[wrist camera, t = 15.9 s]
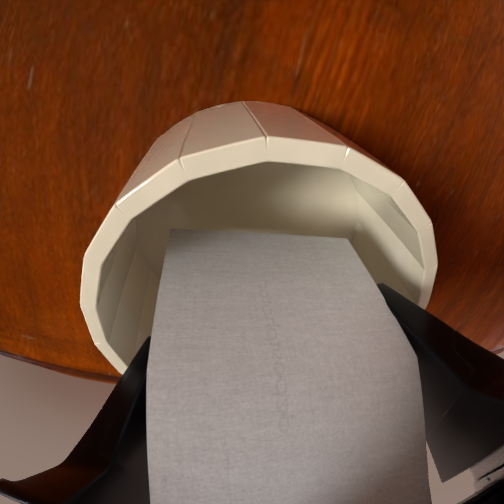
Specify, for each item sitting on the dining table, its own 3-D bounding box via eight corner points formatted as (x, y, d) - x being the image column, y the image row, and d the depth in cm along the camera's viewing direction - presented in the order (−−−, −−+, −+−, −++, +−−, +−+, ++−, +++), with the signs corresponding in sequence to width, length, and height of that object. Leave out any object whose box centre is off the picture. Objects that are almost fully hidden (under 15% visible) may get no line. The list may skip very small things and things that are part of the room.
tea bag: (170, 228, 11) (140, 558, 3) (346, 238, 12) (474, 485, 4) (173, 303, 13) (166, 553, 5) (323, 306, 14) (395, 517, 6)
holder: (361, 283, 19) (406, 371, 13) (176, 326, 19) (171, 424, 13) (352, 82, 12) (455, 113, 6) (91, 146, 12) (11, 221, 6)
